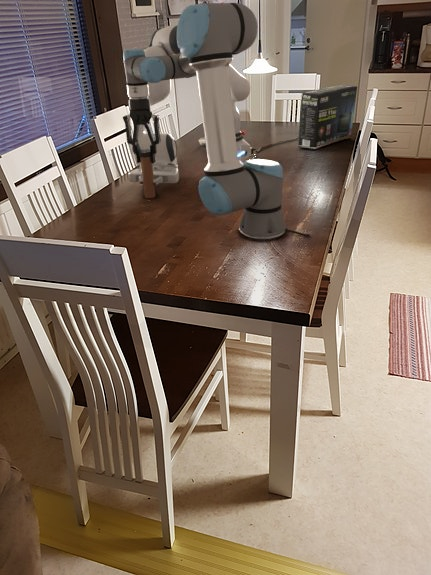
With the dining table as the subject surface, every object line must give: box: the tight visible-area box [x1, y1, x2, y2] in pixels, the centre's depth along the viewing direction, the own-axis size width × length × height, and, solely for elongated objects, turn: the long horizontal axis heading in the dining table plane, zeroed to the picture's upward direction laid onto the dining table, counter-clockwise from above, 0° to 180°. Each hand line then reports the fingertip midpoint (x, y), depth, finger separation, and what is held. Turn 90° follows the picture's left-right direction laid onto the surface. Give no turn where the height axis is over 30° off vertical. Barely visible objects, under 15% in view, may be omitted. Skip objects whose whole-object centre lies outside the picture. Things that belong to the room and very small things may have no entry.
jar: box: [139, 156, 157, 199], centre depth 179 cm, size 4×4×18 cm
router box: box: [297, 84, 358, 151], centre depth 238 cm, size 36×11×27 cm, turn 134°
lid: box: [138, 149, 151, 157], centre depth 174 cm, size 5×5×2 cm
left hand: (147, 182), depth 179 cm, fingers closed on jar, 4 cm apart
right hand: (146, 162), depth 176 cm, fingers closed on lid, 5 cm apart
